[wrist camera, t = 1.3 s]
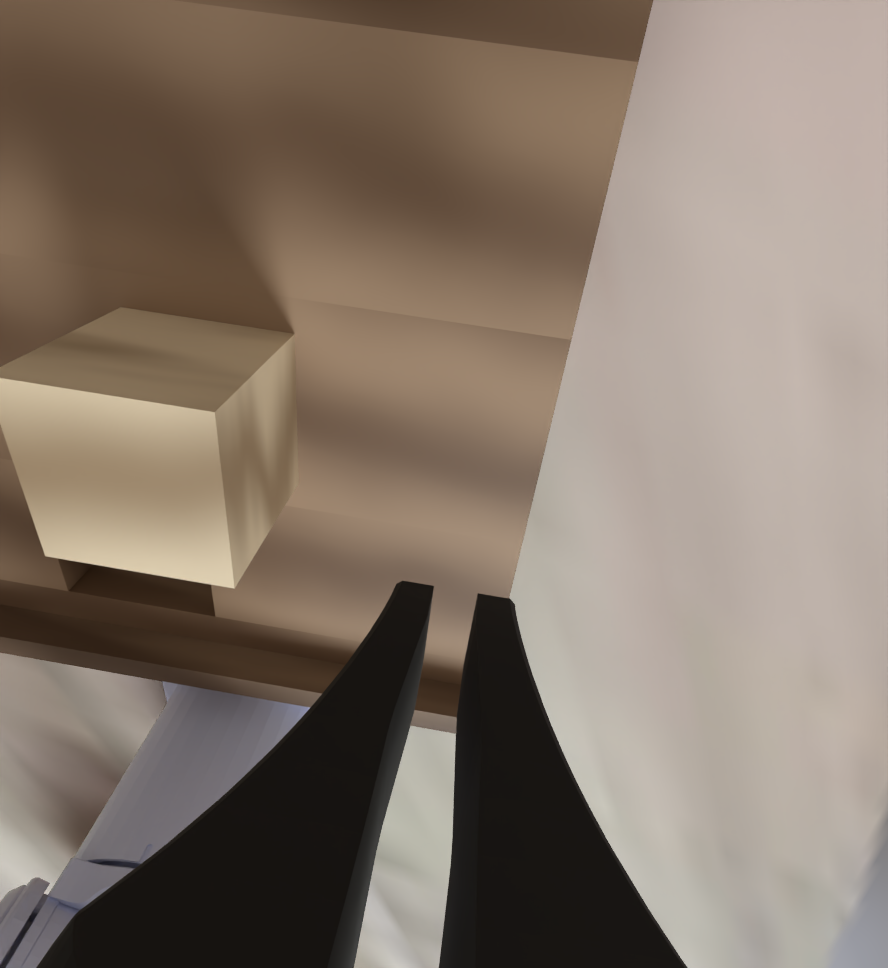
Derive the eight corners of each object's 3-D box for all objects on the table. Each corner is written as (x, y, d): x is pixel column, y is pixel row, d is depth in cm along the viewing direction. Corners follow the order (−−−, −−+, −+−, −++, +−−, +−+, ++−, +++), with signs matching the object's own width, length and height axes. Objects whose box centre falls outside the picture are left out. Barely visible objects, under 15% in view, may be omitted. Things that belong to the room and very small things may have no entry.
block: (298, 483, 19) (234, 588, 15) (149, 458, 19) (45, 555, 15) (294, 334, 16) (214, 412, 12) (120, 307, 17) (-17, 375, 12)
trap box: (486, 666, 26) (480, 738, 23) (-206, 546, 27) (-296, 600, 24) (658, -75, 13) (697, -131, 10) (-714, -246, 14) (-1049, -341, 11)
